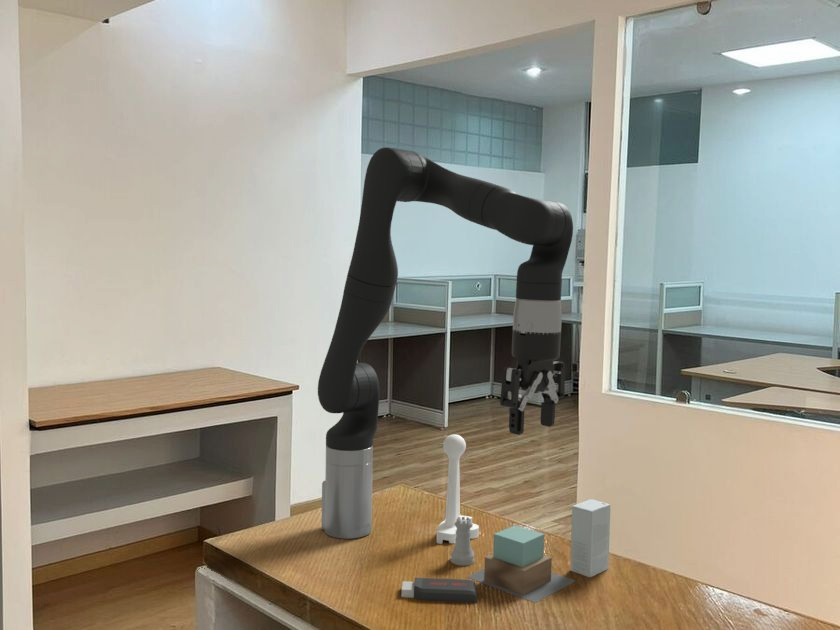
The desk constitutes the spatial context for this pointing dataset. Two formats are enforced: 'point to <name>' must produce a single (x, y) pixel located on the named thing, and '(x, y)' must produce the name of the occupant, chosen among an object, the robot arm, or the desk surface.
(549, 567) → the walnut block
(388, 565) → the desk surface
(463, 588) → the usb drive
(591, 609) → the desk surface
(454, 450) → the white ball-topped post
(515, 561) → the teal block
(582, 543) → the skincare box
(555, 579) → the mat
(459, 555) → the rook chess piece
